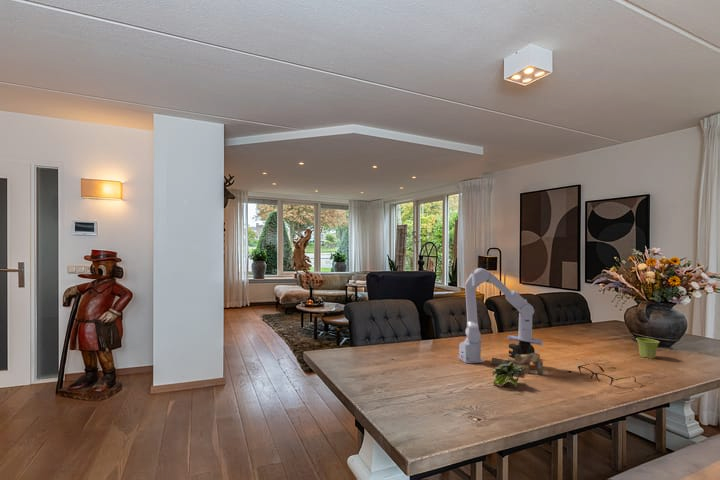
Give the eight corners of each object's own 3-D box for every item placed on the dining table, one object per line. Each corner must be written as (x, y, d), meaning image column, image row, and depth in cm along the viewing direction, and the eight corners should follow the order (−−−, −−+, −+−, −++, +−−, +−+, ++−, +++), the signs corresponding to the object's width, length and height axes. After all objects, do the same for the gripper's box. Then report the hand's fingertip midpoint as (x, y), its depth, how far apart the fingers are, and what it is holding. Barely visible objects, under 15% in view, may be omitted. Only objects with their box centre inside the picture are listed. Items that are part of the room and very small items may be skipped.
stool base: (545, 382, 138) (545, 368, 138) (487, 370, 150) (487, 358, 150) (548, 367, 157) (548, 355, 157) (496, 357, 169) (496, 346, 169)
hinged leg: (518, 369, 152) (518, 355, 152) (513, 367, 154) (514, 354, 155) (539, 365, 158) (539, 352, 158) (534, 363, 160) (534, 351, 160)
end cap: (518, 360, 166) (518, 346, 166) (507, 356, 172) (507, 342, 172) (534, 359, 168) (535, 345, 169) (523, 355, 175) (524, 341, 175)
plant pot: (664, 360, 173) (664, 342, 174) (645, 359, 174) (645, 342, 174) (649, 354, 183) (649, 338, 183) (631, 353, 183) (631, 337, 183)
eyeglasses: (575, 373, 150) (575, 364, 151) (600, 370, 156) (600, 361, 156) (614, 388, 135) (614, 378, 135) (640, 384, 141) (640, 374, 141)
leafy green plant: (503, 395, 138) (515, 368, 142) (523, 401, 128) (535, 372, 132) (482, 379, 137) (494, 353, 141) (500, 385, 126) (512, 356, 130)
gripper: (543, 329, 159) (542, 359, 159) (509, 324, 167) (509, 353, 167) (542, 332, 153) (541, 363, 153) (507, 327, 161) (506, 356, 161)
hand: (524, 358), depth 160 cm, fingers closed
